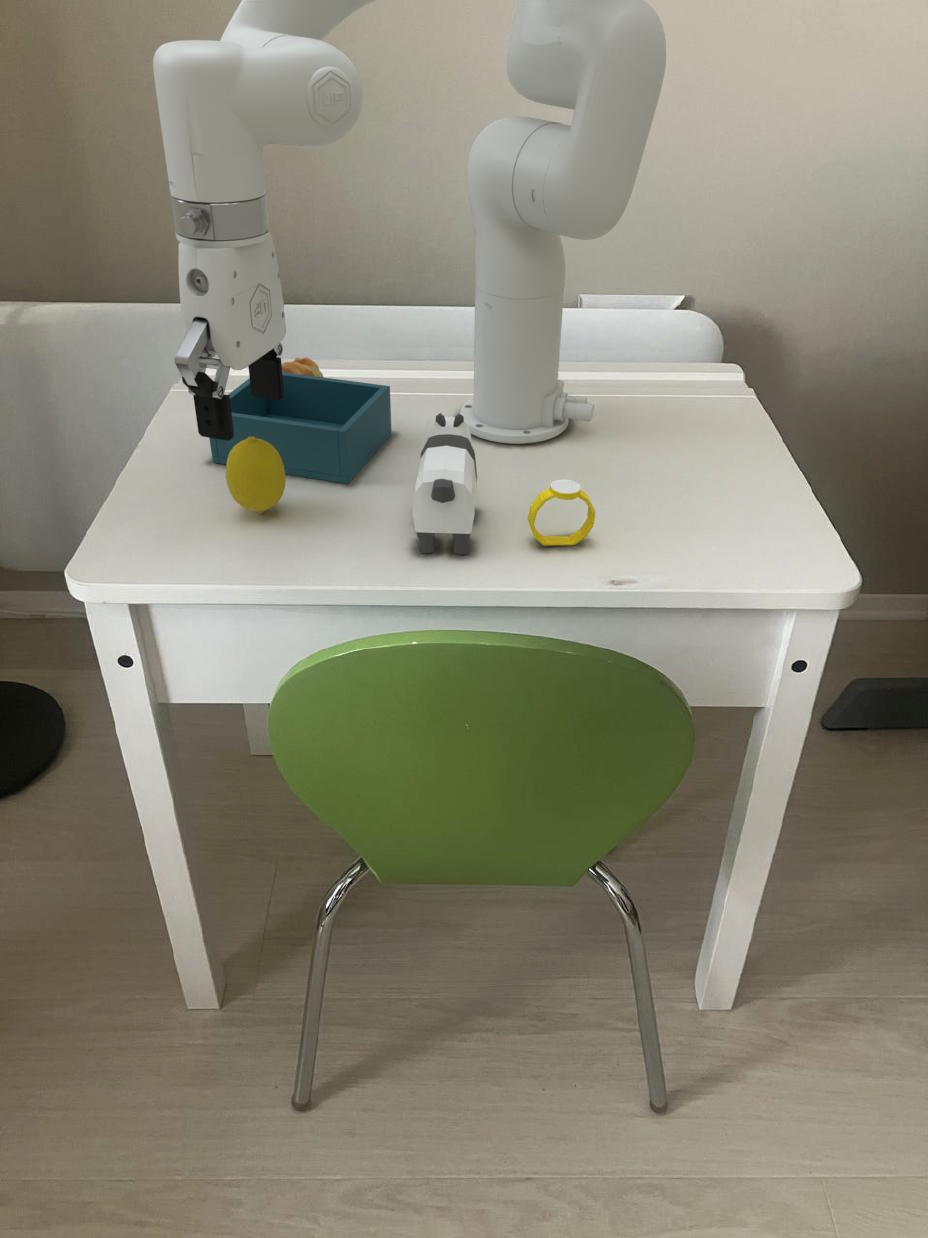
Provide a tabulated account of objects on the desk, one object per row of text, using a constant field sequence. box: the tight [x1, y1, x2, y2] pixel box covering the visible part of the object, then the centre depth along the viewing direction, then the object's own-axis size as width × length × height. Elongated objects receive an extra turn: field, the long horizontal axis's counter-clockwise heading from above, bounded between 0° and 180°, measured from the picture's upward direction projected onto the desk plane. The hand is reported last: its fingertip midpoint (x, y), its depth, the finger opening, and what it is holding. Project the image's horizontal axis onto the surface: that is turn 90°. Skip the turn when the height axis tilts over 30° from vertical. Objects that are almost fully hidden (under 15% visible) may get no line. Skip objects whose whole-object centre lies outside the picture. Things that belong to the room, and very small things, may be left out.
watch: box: [527, 478, 596, 547], centre depth 89 cm, size 6×3×6 cm, turn 98°
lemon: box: [225, 436, 287, 514], centre depth 92 cm, size 6×6×8 cm
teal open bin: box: [208, 372, 393, 485], centre depth 105 cm, size 16×13×6 cm
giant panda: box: [411, 412, 478, 556], centre depth 91 cm, size 15×6×10 cm, turn 177°
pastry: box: [281, 357, 324, 377], centre depth 117 cm, size 9×7×4 cm
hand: (243, 416), depth 88 cm, fingers open, 9 cm apart
